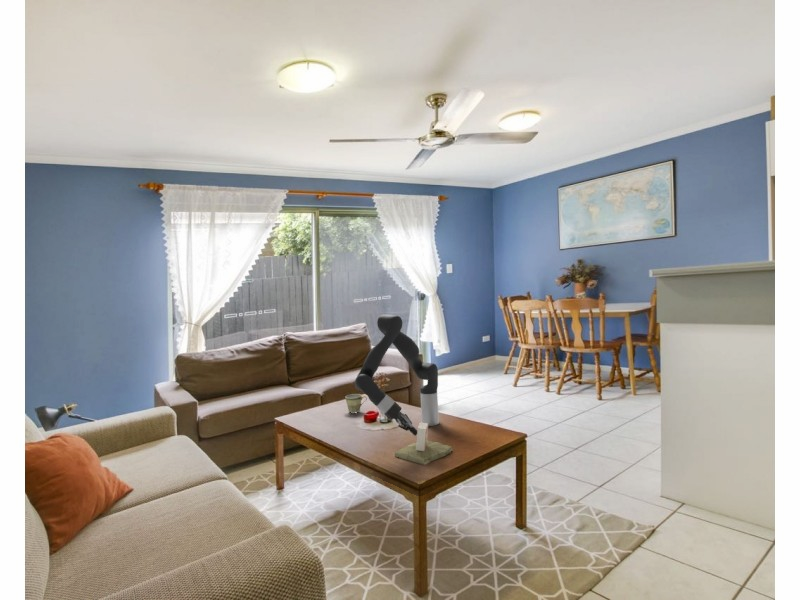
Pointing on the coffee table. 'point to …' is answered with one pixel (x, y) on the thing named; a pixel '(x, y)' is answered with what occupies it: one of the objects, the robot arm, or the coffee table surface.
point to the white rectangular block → (422, 436)
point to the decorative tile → (424, 452)
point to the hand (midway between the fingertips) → (416, 433)
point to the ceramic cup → (354, 402)
